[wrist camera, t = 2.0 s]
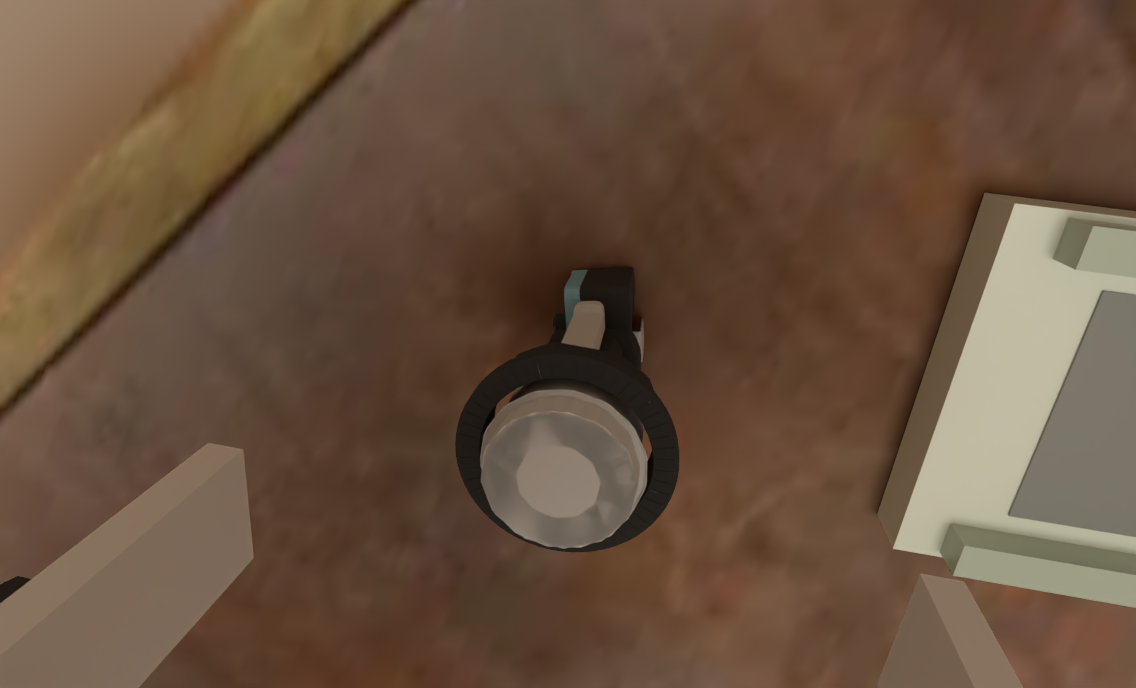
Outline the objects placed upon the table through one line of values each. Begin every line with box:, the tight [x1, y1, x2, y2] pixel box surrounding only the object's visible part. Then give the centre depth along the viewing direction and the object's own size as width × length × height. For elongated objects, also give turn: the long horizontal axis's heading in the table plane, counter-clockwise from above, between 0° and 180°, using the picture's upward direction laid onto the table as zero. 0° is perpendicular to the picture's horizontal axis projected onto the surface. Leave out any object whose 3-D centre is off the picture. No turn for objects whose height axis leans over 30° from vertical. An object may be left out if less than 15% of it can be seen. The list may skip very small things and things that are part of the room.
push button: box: [455, 268, 679, 552], centre depth 20 cm, size 7×5×10 cm
